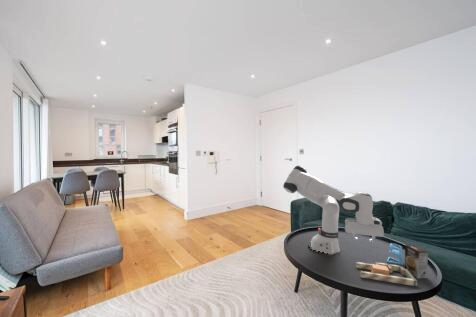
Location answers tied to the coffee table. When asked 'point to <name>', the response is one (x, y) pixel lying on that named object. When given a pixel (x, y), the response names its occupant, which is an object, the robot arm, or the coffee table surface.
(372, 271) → the terracotta block
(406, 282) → the birch trap lane
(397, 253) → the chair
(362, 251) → the coffee table surface
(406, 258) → the coffee box
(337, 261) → the coffee table surface
